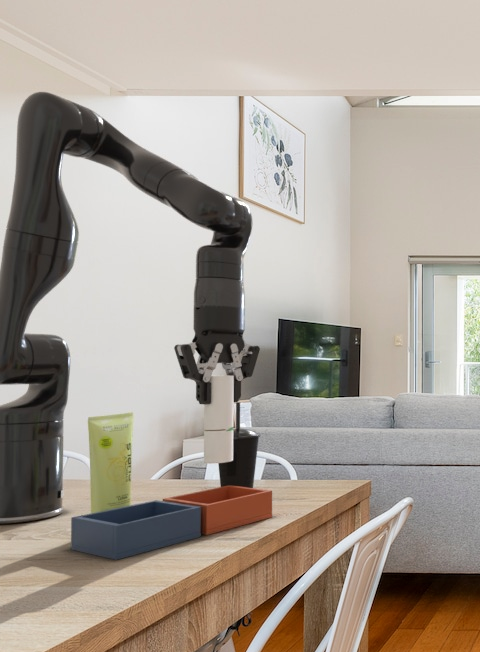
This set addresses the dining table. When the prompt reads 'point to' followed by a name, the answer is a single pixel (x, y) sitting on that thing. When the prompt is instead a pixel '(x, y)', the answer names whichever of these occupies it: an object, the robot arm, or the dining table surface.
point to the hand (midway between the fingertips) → (218, 402)
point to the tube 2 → (219, 421)
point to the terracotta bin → (228, 506)
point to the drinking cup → (240, 457)
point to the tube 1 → (110, 461)
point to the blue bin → (135, 528)
